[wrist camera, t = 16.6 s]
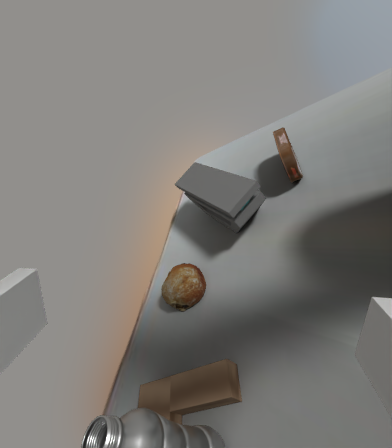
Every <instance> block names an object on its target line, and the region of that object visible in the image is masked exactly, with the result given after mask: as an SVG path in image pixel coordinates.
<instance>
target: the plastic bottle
mask: <svg viewBox="0 0 392 448" xmlns="http://www.w3.org/2000/svg"><path fill="white" fill-rule="evenodd" d="M81 448H226V447H225V444H224V441H223V439H222V437H221V436H220V435H219V433H218V432H216V431H215V430H214V429H212V428H211V427H209V426H206V425H194V426H189V425H180V424H178V423H175V422H173V421H170V420H168V419H166V418H164V417H163V416H161V415H159V414H158V413H156V412H154V411H152V410H150V409H147V408H137V409H133V410H131V411H129V412H128V413H126V414H125V415H123V416H122V417H120V418H119V417H116V416H105V415H100V416H98V417H96V418H95V419H94V420H93V421H92V422H91V423H90V425H89V426H88V428H87V430H86V432H85V435H84V438H83V441H82V446H81Z"/></svg>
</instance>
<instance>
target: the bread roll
mask: <svg viewBox="0 0 392 448" xmlns="http://www.w3.org/2000/svg"><path fill="white" fill-rule="evenodd" d="M205 289H206V282H205V279H204V276H203V274H202V272H201V271H200V269H199V268H198V267H196V266H194V265H192V264H190V263H189V264H185V263H183V264H181V265H177V266H175V267H173V268H172V270H171V271H170V272H169V273H168V277H167V278H166V280H165V282H164V283H163V285H162V296H163V298H164V300H165V301H166V303H167V304H169V305H170V306H172V307H174V308H176V309H179V310H180V311H185V310H186V309H188V308H190V307H192V306H193V305H194V304H196V303H198V302H199V301H200V300H201V298H202V297H203V295H204V292H205Z"/></svg>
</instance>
